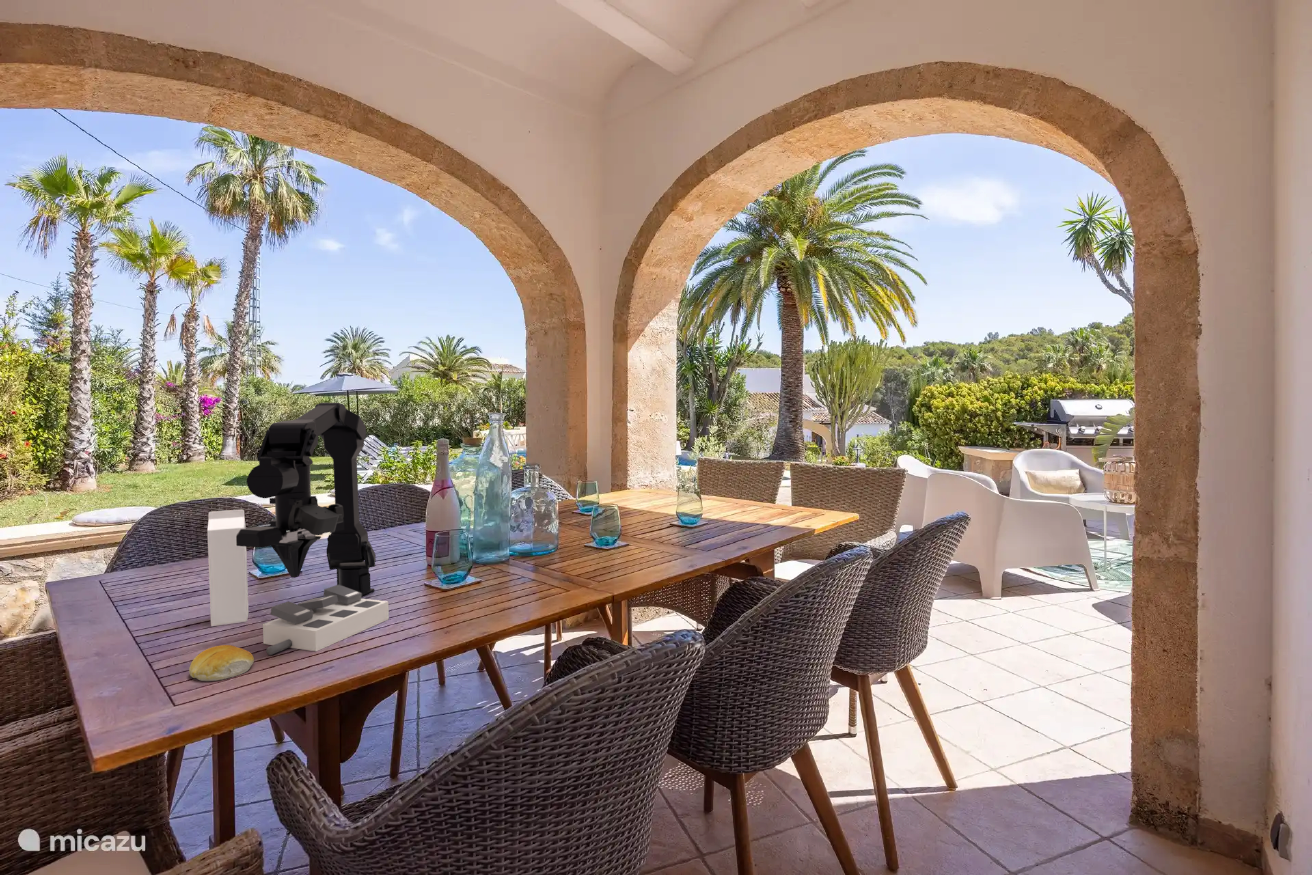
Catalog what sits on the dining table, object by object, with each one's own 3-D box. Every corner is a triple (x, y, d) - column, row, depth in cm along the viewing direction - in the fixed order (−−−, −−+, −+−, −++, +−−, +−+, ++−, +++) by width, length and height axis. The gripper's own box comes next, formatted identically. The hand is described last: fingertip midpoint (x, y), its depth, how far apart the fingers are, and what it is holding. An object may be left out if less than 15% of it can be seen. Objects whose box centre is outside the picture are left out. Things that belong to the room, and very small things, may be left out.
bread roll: (234, 658, 112) (233, 634, 111) (261, 669, 107) (260, 645, 107) (178, 674, 105) (177, 650, 105) (204, 687, 100) (204, 661, 100)
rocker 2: (323, 595, 130) (324, 588, 130) (337, 590, 133) (338, 584, 133) (347, 604, 128) (348, 597, 128) (360, 599, 131) (362, 592, 131)
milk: (247, 622, 130) (243, 511, 129) (210, 627, 127) (206, 514, 126) (248, 613, 135) (245, 507, 134) (213, 618, 132) (209, 509, 131)
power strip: (243, 651, 114) (242, 630, 114) (340, 613, 135) (340, 595, 135) (296, 659, 110) (296, 637, 110) (388, 619, 131) (388, 600, 131)
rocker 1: (270, 614, 118) (271, 606, 118) (287, 608, 122) (288, 600, 122) (295, 624, 117) (297, 616, 116) (312, 618, 120) (313, 610, 120)
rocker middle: (299, 611, 124) (297, 603, 124) (314, 605, 127) (312, 598, 127) (323, 607, 122) (321, 599, 122) (338, 602, 126) (336, 594, 126)
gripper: (283, 499, 108) (286, 593, 108) (366, 487, 125) (368, 568, 126) (232, 497, 111) (235, 588, 111) (320, 485, 129) (322, 564, 129)
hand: (294, 576), depth 119 cm, fingers closed
